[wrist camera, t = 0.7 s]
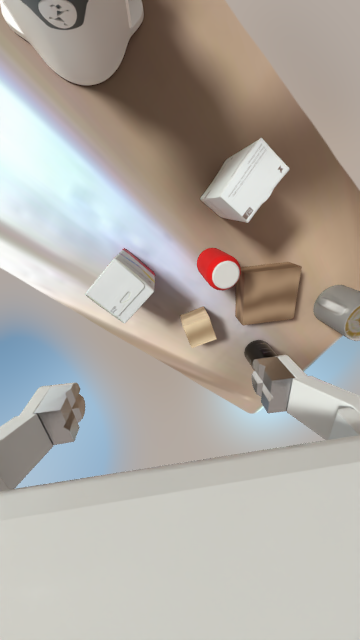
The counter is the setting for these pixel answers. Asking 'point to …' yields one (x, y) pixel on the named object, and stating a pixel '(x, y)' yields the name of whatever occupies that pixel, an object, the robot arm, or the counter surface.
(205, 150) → the counter surface
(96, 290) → the ink box
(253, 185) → the skincare box
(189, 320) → the oak block
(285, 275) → the walnut block
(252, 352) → the supplement bottle
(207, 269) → the beverage can
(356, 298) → the coffee mug
